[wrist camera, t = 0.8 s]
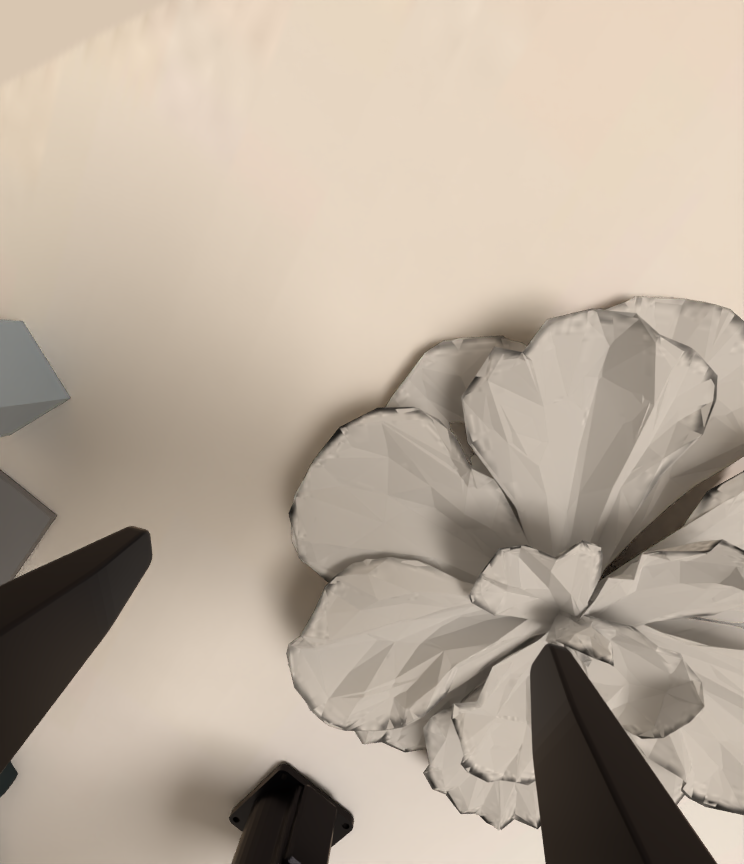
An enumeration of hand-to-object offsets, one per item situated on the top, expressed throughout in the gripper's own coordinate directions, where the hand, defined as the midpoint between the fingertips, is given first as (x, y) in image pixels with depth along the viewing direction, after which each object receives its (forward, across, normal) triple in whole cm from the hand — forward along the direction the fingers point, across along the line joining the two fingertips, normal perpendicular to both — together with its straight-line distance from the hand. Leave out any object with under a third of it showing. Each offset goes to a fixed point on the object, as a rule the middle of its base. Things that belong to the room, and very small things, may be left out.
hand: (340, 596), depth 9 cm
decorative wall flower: (+12, -11, +9) cm, 19 cm away
